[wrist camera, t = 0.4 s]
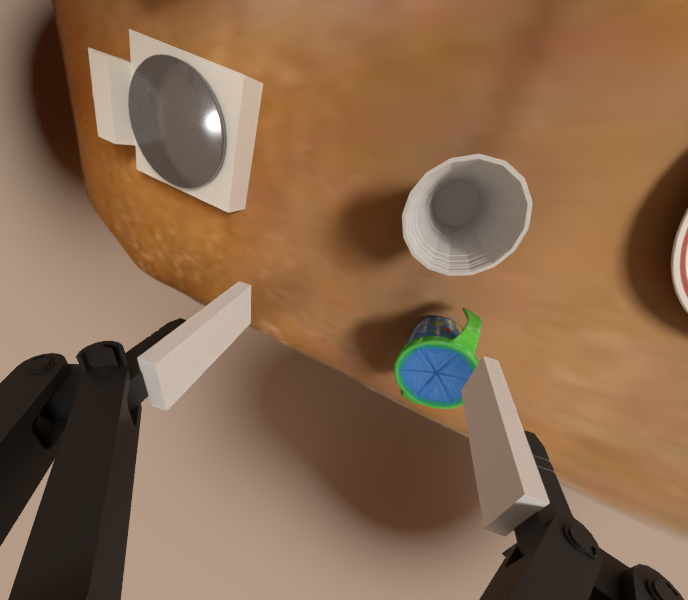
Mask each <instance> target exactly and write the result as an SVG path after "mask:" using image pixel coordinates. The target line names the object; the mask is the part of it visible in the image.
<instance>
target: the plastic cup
mask: <svg viewBox="0 0 688 600" xmlns="http://www.w3.org/2000/svg"><path fill="white" fill-rule="evenodd" d="M532 205H533V202H532V199H531V196H530V193H529V190H528V187H527V184H526V181H525V178H524V177H523V176H521V175H520V174H519V173H518V172H517V171H516V170H515V169H514V168H513V167H512V166H511V165H510V164H509V163H507V162H506V161H504V160H500V159H497V158H493V157H489V156H486V155H482V154H475V155H468V156H462V157H455V158H451V159H449V160H447V161H445V162H444V163H442V164H440V165H438V166H437V167H435V168H433V169H432V170H430V171H428V172H427V173H426V174H425V175H424V176H423V177H422V179H421V180H420V181H419V182H418V183H417V185H416V186H415V187H414V188H413V189H412V191H411V192H410V193H409V196H408V199H407V202H406V205H405V208H404V211H403V214H402V226H403V238H404V240H405V242H406V244H407V246H408V248H409V250H410V252H411V254H412V256H413V257H415V258H416V259H417V260H418V261H419V262H420V263H422V264H423V265H424V266H425V267H426V268H428V269H430V270H433V271H436V272H439V273H442V274H445V275H448V276H456V275H473V274H476V273H479V272H482V271H484V270H487V269H490V268H493V267H495V266H496V265H497V264H499V263H500V262H501V261H503V260H504V259H505V258H506V257H508V256H509V255H510V254H511V253H513V252H514V251H515V250H516V248H517V247H518V245H519V243H520V242H521V240H522V238H523V237H524V235H525V234H526V232H527V230H528V229H529V224H530V217H531V211H532Z"/></svg>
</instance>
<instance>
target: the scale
mask: <svg viewBox="0 0 688 600" xmlns="http://www.w3.org/2000/svg"><path fill="white" fill-rule="evenodd" d="M129 38H130V56H131V62H130V61H127V60H124V59H121V58H118V57H115V56H112V55H109V54H107V53H104V52H101V51H98V50H95V49H92V48H89V47H88V54H89V62H90V71H91V79H92V88H93V89H92V92H93V98H94V105H95V113H96V122H97V130H98V136H99V137H101V138H103V139H105V140H108V141H110V142H112V143H114V144H123V145H135V146H136V163H137V170H139V171H141V172H143V173H145V174H147V175H149V176H151V177H154V178H156V179H158V180H160V181H162V182H164V183H166V184H168V185H170V186H173V187H175V188H177V189H179V190H181V191H183V192H185V193H187V194H190V195H192V196H194V197H196V198H198V199H200V200H202V201H204V202H206V203H209V204H211V205H213V206H215V207H217V208H219V209H221V210H223V211H226V212H228V213H230V212H234V211H239V210H244V209H245V205H246V198H247V191H248V185H249V178H250V171H251V164H252V157H253V150H254V144H255V137H256V130H257V123H258V116H259V109H260V103H261V96H262V89H263V83H261V82H258V81H256V80H254V79H252V78H250V77H248V76H246V75H243V74H241V73H238V72H236V71H233V70H231V69H228V68H226V67H223V66H221V65H218V64H216V63H213V62H211V61H208V60H206V59H203V58H201V57H198V56H196V55H193V54H191V53H188V52H186V51H183V50H181V49H178V48H176V47H173V46H171V45H168V44H166V43H163V42H161V41H158V40H156V39H153V38H151V37H148V36H146V35H143V34H141V33H138V32H136V31H133V30H131V29H129ZM159 54H163V55H169V56H173V57H176V58H178V59H180V60H183V61H185V62H187V63H188V64H190V65H191V66H193V67H194V68H195V69H196V70H197V71H198V72H199V73H201V75H202V76H203V77H204V78H205V79H206V81H207V82H208V83H209V85H210V86H211V88H212V90H213V91H214V93H215V95H216V97H217V99H218V102H219V104H220V107H221V110H222V113H223V116H224V120H225V126H226V134H227V148H226V155H225V159H224V163H223V166H222V168H221V170H220V172H219V173H218V175H217V176H216V177H215V179H214V180H213V181H211V182H210V183H209V184H207V185H205V186H202V187H198V188H182V187H178V186H176V185H173V184H171V183H169V182H168V181H166V180H165V179H163V178H162V177H161V176H160V175H159V174H158V173H157V172H156V171H155V170H154V169H153V168H152V167H151V165H150V164H149V163H148V162H147V160H146V158H145V157H144V155H143V154H142V152H141V150H140V148H139V146H138V143H137V141H136V139H135V136H134V133H133V130H132V126H131V122H130V116H129V106H128V98H129V89H130V83H131V80H132V77H133V75H134V73H135V71H136V69H137V68H138V66H139V65H140V64H141V63H142V62H143V61H144V60H145V59H147V58H148V57H151V56H154V55H159Z"/></svg>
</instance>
